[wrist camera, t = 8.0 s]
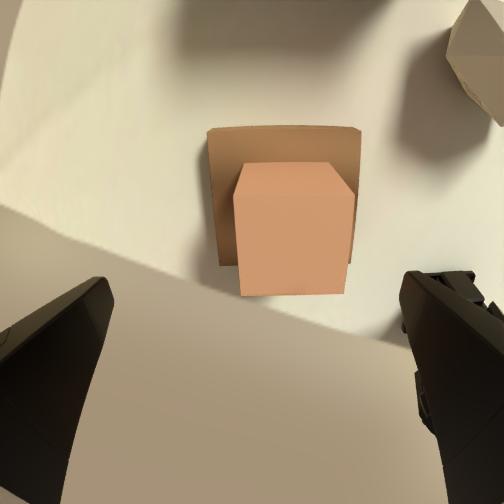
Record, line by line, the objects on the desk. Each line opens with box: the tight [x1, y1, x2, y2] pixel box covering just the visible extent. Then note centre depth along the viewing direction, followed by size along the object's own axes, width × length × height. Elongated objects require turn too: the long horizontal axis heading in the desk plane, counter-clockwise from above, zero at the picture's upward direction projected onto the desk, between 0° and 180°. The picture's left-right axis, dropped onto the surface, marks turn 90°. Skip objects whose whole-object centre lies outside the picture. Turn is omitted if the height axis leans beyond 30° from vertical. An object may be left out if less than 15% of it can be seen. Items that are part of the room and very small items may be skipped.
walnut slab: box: [207, 125, 361, 266], centre depth 20 cm, size 9×9×2 cm
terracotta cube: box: [233, 162, 355, 296], centre depth 16 cm, size 5×5×6 cm
